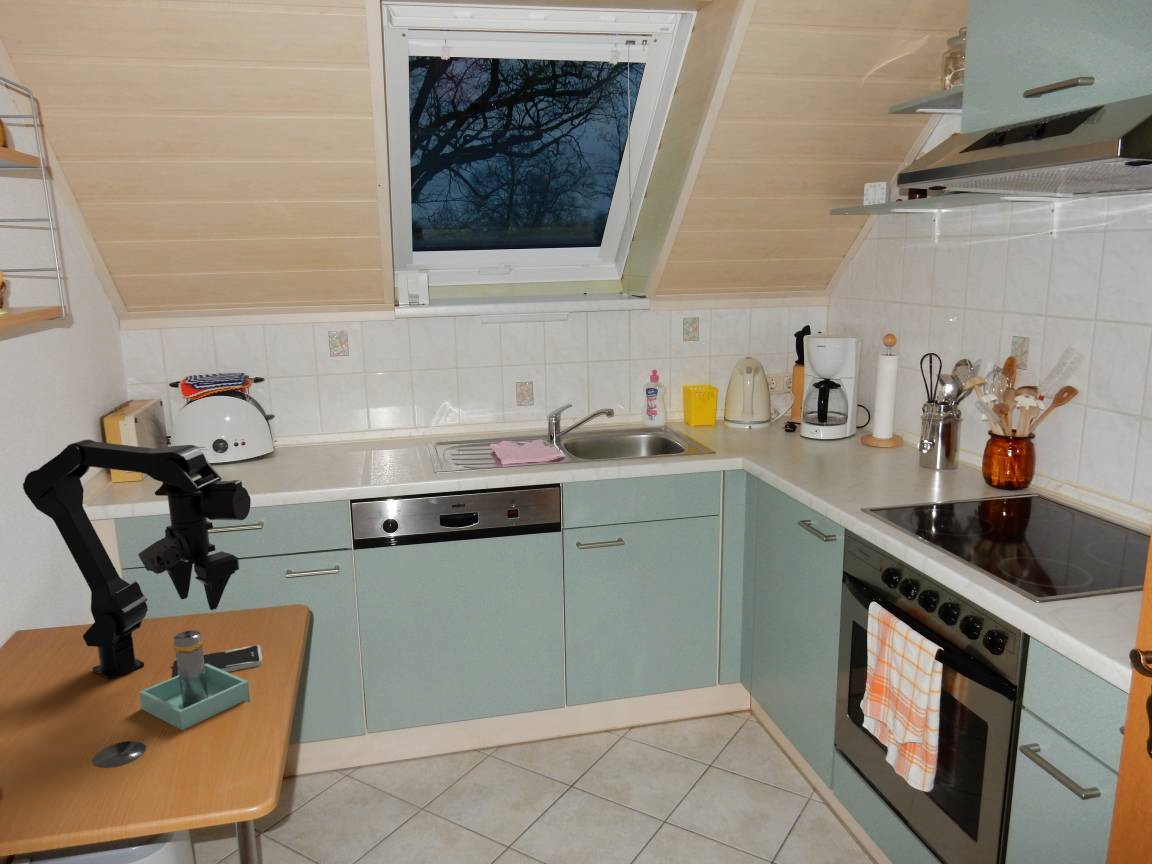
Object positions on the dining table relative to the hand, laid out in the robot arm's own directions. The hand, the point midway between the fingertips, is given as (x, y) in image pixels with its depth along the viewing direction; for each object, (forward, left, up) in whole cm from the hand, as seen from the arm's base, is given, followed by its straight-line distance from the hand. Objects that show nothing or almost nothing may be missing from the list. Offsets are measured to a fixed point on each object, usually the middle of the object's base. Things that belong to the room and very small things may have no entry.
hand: (198, 604), depth 152 cm
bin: (+10, -8, -13) cm, 18 cm away
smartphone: (-1, +3, -14) cm, 14 cm away
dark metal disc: (+14, -23, -13) cm, 30 cm away
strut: (+10, -8, -12) cm, 18 cm away
